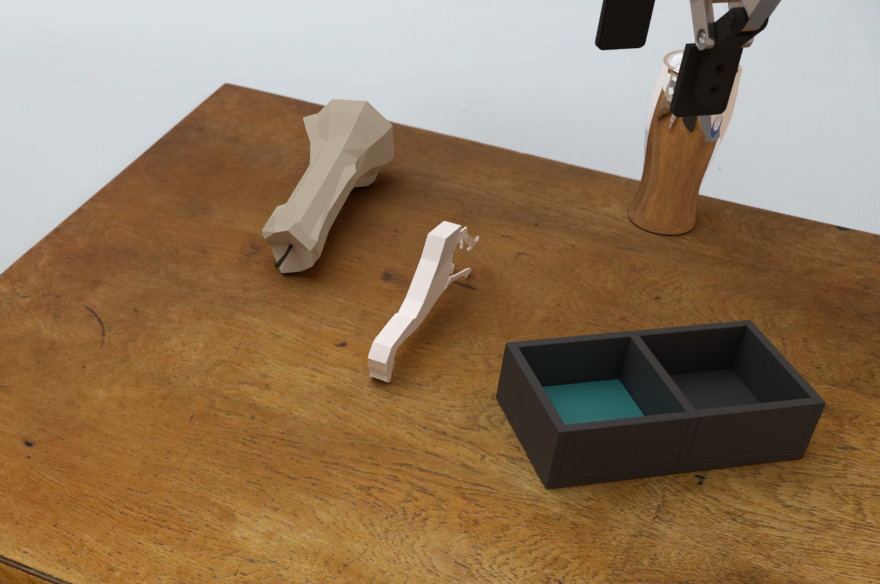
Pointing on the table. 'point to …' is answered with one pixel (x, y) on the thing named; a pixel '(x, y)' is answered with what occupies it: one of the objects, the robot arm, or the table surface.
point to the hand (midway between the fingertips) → (655, 78)
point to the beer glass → (676, 156)
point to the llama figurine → (419, 295)
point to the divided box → (655, 402)
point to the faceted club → (328, 179)
